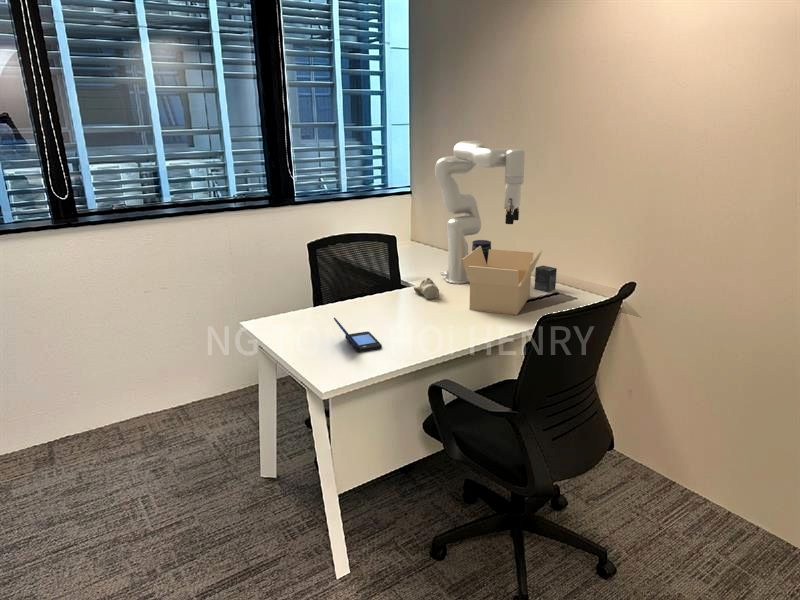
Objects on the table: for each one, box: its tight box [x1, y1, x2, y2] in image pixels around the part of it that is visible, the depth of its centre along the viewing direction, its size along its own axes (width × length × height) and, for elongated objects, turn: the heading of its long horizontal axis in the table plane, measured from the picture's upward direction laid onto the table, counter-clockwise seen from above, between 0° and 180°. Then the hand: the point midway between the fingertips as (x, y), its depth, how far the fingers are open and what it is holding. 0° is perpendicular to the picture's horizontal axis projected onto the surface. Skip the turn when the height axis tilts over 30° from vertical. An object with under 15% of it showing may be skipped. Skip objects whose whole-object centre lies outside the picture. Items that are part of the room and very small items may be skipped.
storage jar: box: [471, 239, 492, 264], centre depth 279 cm, size 10×10×15 cm
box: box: [534, 265, 558, 293], centre depth 244 cm, size 8×6×11 cm
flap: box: [520, 249, 543, 287], centre depth 219 cm, size 10×25×1 cm
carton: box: [462, 246, 535, 316], centre depth 227 cm, size 24×32×22 cm
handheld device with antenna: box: [333, 317, 383, 353], centre depth 188 cm, size 16×13×9 cm
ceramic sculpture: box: [413, 277, 440, 300], centre depth 240 cm, size 11×9×15 cm
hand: (512, 222), depth 223 cm, fingers open, 9 cm apart
